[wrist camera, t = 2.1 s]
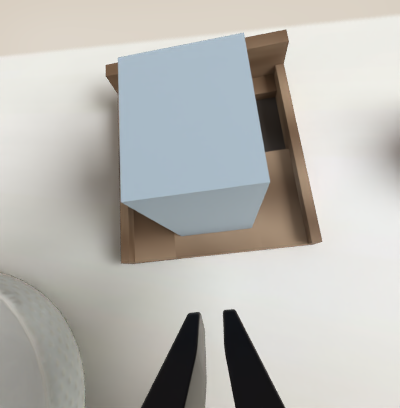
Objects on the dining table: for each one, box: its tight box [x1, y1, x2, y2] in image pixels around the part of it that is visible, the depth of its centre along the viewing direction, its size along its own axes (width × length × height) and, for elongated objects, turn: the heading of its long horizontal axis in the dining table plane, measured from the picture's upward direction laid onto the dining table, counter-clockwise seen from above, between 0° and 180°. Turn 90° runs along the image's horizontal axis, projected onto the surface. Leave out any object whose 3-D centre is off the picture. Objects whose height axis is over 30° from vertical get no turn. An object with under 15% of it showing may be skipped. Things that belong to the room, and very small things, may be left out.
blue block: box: [118, 33, 270, 236], centre depth 14 cm, size 6×5×10 cm
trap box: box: [106, 30, 322, 264], centre depth 19 cm, size 14×13×4 cm
